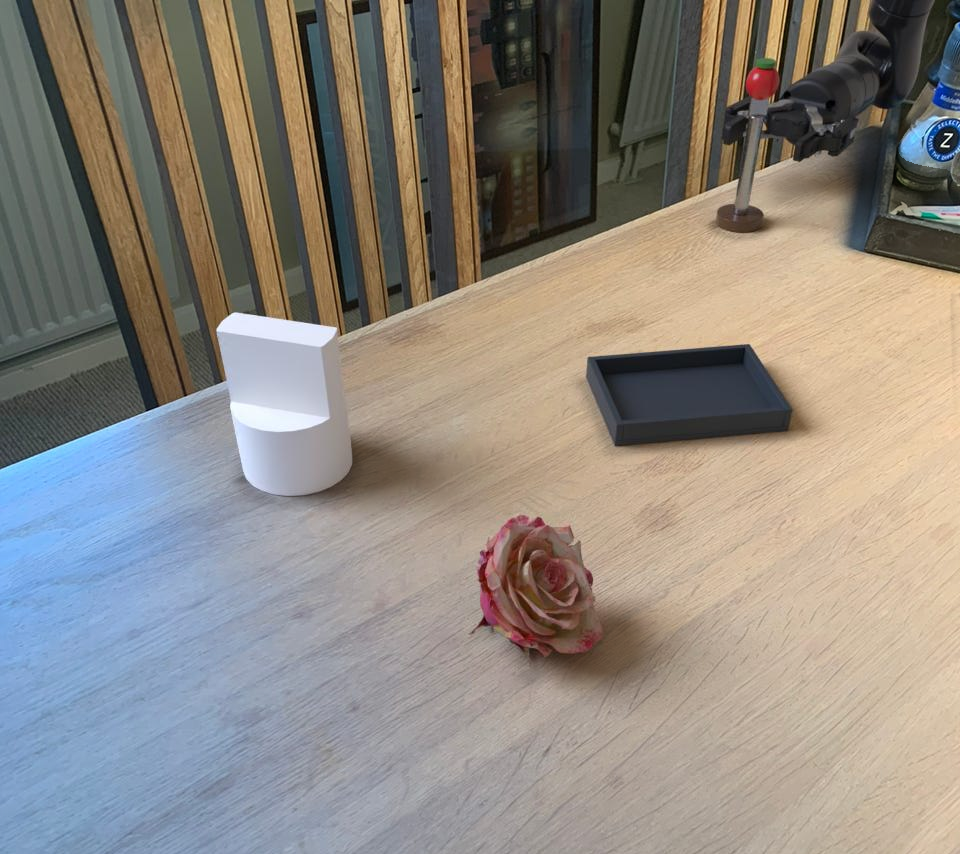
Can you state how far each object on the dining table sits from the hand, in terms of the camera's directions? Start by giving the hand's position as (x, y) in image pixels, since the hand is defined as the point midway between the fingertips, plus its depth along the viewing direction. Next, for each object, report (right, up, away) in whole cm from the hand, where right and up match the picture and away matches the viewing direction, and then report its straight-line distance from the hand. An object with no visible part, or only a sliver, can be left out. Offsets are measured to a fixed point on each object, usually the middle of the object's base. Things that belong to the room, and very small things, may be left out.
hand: (761, 143), depth 114 cm
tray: (-13, -34, -23) cm, 43 cm away
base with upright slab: (-46, -41, -29) cm, 68 cm away
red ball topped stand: (-1, -7, +4) cm, 8 cm away
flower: (-27, -55, -43) cm, 75 cm away
